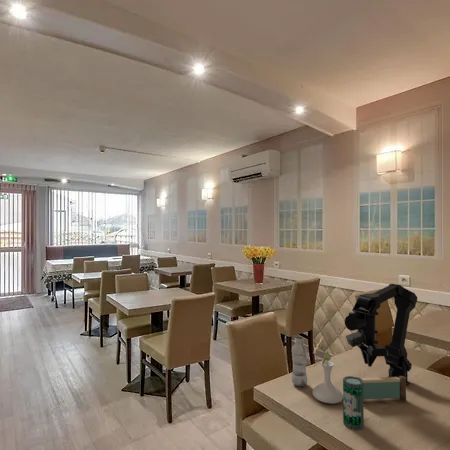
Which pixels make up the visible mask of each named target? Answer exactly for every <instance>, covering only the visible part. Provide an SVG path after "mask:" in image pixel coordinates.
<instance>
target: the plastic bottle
mask: <svg viewBox="0 0 450 450" xmlns="http://www.w3.org/2000/svg"><path fill="white" fill-rule="evenodd" d="M304 343H305V340H304V337H303V336H300V335H299V336H297V335H296V336H295V338H294V344H293V346H292V348H291V352H292V353H291V355H292V363H293V364H292V374H291V381H292V384H293V385H294V386H296V387H300V388H301V387H305V386H306V385H307V383H308V377H307V376H308V375H307V368H306V367H307V364H306V363H307V355H308V349H307V347H306V345H305V344H304Z"/></svg>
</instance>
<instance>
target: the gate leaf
mask: <svg viewBox="0 0 450 450" xmlns="http://www.w3.org/2000/svg"><path fill="white" fill-rule="evenodd" d="M360 378H361V379H362V380H363V399H382V398H400V379H399V378H398V377H389V376H387V377H382V376H381V377H360Z"/></svg>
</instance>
